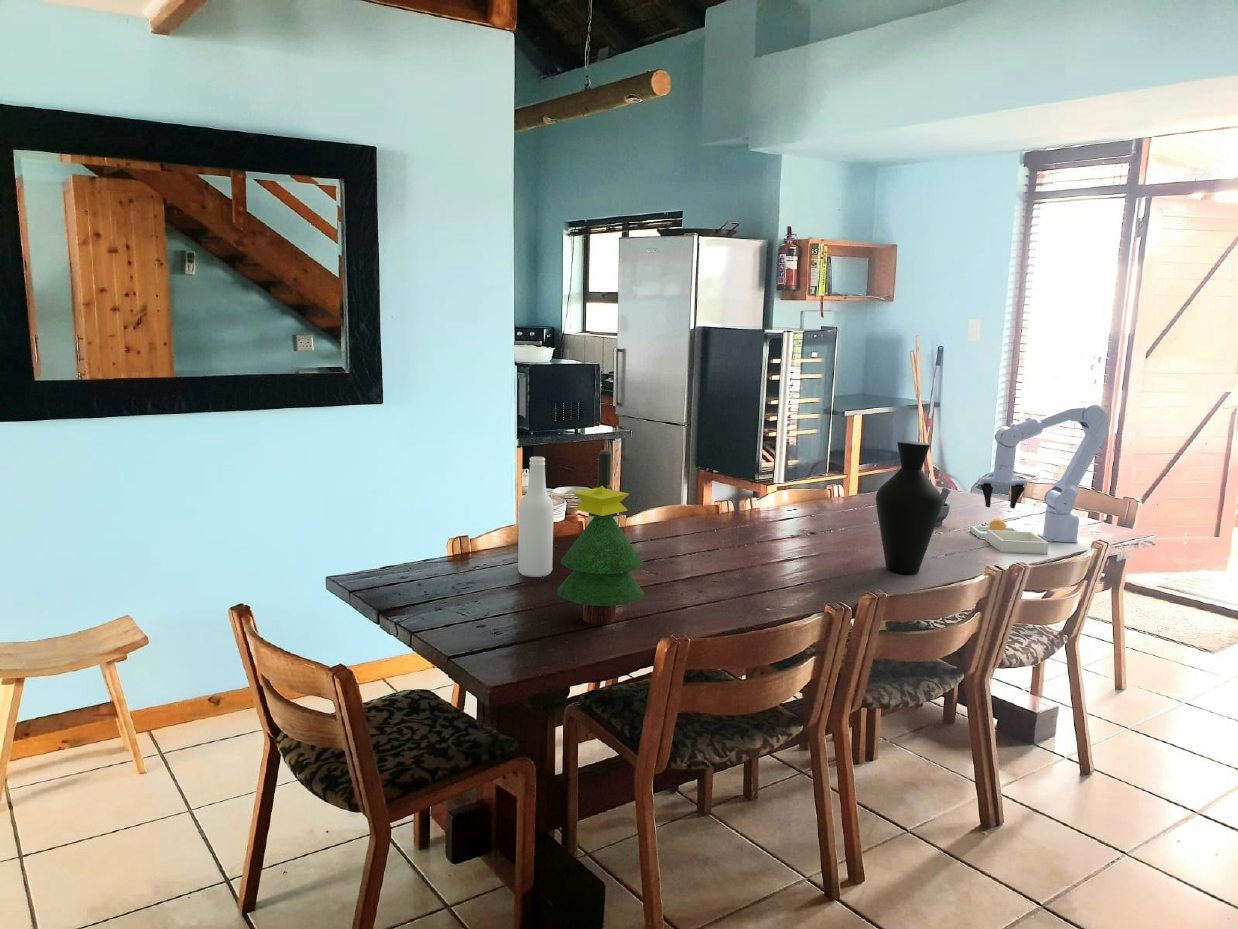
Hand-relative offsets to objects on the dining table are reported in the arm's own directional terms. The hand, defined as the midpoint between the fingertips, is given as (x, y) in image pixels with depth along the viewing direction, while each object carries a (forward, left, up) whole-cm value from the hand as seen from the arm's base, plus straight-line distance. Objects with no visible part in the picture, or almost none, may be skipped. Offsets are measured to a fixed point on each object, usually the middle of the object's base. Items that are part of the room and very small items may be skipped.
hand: (999, 507), depth 300 cm
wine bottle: (+123, +49, -10) cm, 133 cm away
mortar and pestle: (+16, -14, -10) cm, 23 cm away
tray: (0, 0, -9) cm, 9 cm away
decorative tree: (+120, +98, -10) cm, 156 cm away
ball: (0, 0, -6) cm, 6 cm away
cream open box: (-1, +14, -9) cm, 17 cm away
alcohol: (+139, +65, -10) cm, 154 cm away
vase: (+41, +46, -10) cm, 63 cm away
